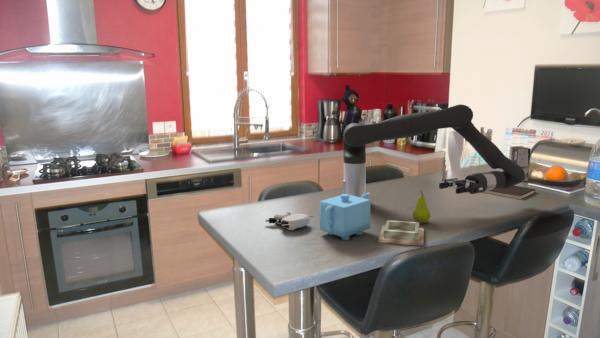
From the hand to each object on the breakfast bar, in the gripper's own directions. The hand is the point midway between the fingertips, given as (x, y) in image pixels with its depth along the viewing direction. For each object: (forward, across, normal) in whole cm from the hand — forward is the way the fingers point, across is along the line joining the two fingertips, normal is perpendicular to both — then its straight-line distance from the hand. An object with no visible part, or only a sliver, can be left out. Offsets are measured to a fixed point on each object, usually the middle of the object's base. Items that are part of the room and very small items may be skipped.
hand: (447, 188), depth 165 cm
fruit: (+11, -1, +12) cm, 16 cm away
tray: (+26, +7, +11) cm, 30 cm away
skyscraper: (-44, -44, +12) cm, 64 cm away
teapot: (+40, -4, +11) cm, 42 cm away
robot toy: (+55, -20, +11) cm, 60 cm away
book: (-48, -18, +13) cm, 53 cm away
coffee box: (-74, -30, +13) cm, 81 cm away
